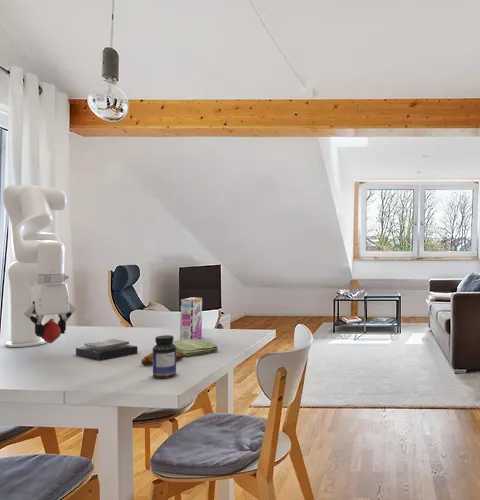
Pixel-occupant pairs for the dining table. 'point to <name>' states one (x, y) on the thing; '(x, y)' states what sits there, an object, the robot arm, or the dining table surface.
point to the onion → (51, 331)
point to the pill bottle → (164, 357)
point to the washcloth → (194, 347)
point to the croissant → (149, 358)
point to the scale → (106, 352)
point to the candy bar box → (191, 318)
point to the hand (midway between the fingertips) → (50, 334)
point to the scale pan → (106, 343)
